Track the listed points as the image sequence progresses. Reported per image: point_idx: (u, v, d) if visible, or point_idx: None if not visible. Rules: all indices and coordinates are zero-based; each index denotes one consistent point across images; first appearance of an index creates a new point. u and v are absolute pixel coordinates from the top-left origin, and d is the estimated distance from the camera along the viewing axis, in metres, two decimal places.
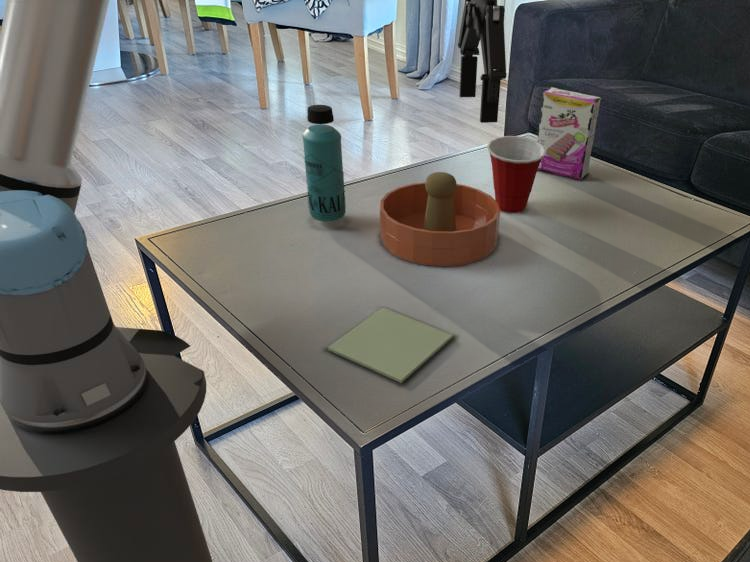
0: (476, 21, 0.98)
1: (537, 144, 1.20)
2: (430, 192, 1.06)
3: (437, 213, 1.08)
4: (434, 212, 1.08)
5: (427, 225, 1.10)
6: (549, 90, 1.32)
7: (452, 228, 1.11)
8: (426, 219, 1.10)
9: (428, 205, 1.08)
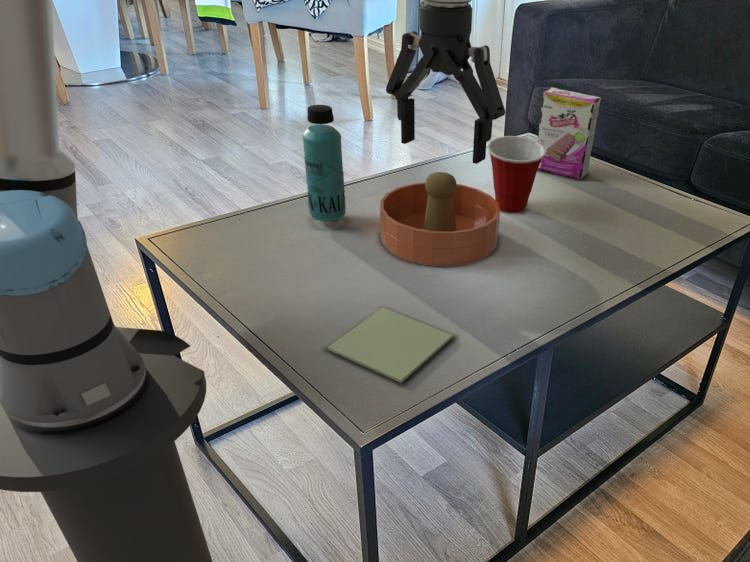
0: (452, 65, 0.94)
1: (537, 144, 1.20)
2: (430, 192, 1.06)
3: (437, 213, 1.08)
4: (434, 212, 1.08)
5: (427, 225, 1.10)
6: (549, 90, 1.32)
7: (452, 228, 1.11)
8: (426, 219, 1.10)
9: (428, 205, 1.08)
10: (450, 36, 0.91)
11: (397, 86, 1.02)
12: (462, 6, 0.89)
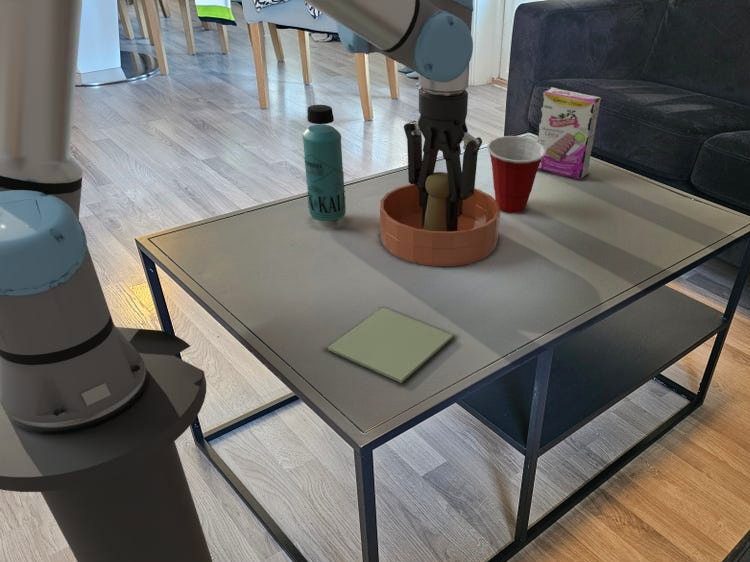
0: (445, 146, 1.01)
1: (537, 144, 1.20)
2: (430, 192, 1.06)
3: (437, 213, 1.08)
4: (434, 212, 1.08)
5: (427, 225, 1.10)
6: (549, 90, 1.32)
7: None
8: (426, 219, 1.10)
9: (428, 205, 1.08)
10: (447, 120, 0.98)
11: None
12: (458, 93, 0.97)
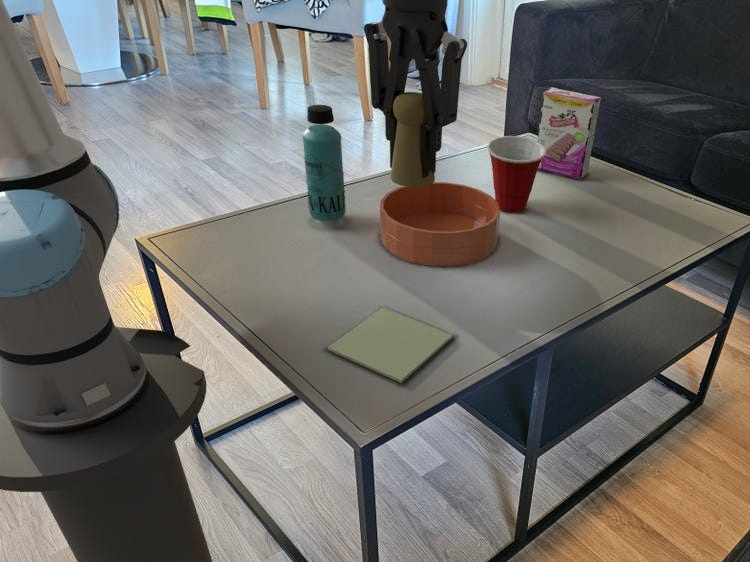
0: (418, 51, 0.76)
1: (537, 144, 1.20)
2: (399, 117, 0.81)
3: (409, 146, 0.83)
4: (405, 144, 0.83)
5: (396, 163, 0.85)
6: (549, 90, 1.32)
7: None
8: (395, 155, 0.85)
9: (397, 136, 0.83)
10: (420, 11, 0.73)
11: None
12: None
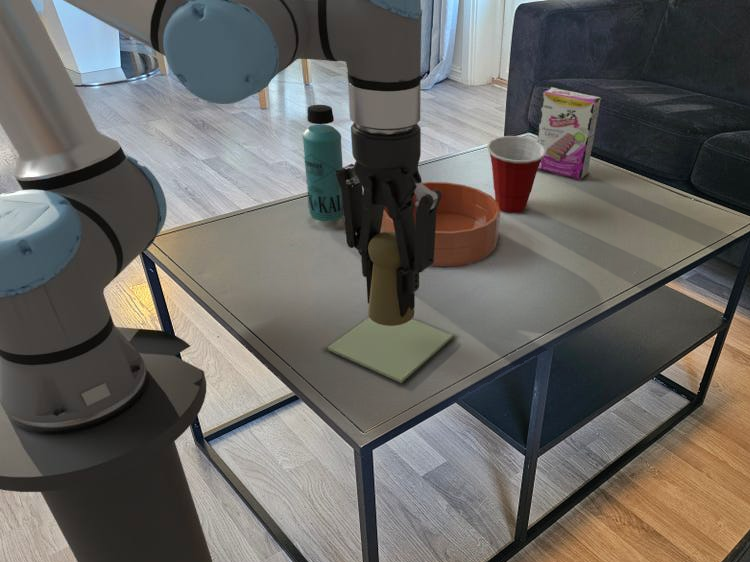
0: (391, 202, 0.73)
1: (537, 144, 1.20)
2: (374, 260, 0.78)
3: (385, 288, 0.80)
4: (381, 286, 0.80)
5: (373, 302, 0.82)
6: (549, 90, 1.32)
7: None
8: (371, 294, 0.82)
9: (373, 276, 0.80)
10: (391, 168, 0.69)
11: None
12: (406, 131, 0.68)
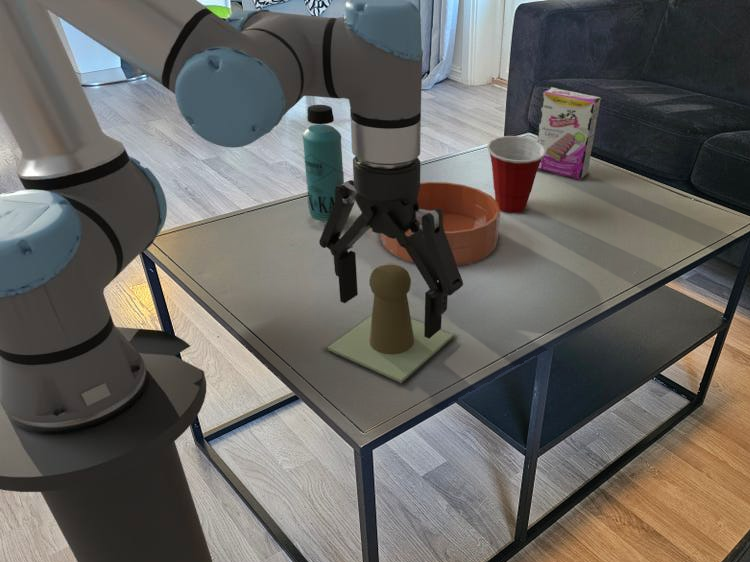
0: (396, 230, 0.74)
1: (537, 144, 1.20)
2: (375, 293, 0.81)
3: (386, 318, 0.82)
4: (382, 316, 0.82)
5: (374, 331, 0.84)
6: (549, 90, 1.32)
7: (407, 334, 0.85)
8: (373, 323, 0.84)
9: (374, 307, 0.83)
10: (391, 200, 0.72)
11: (334, 237, 0.83)
12: (406, 165, 0.70)
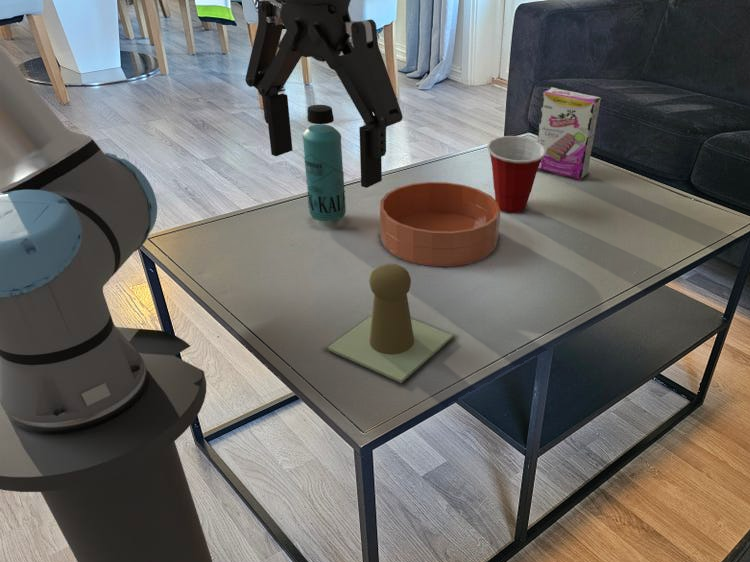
0: (324, 47, 0.65)
1: (537, 144, 1.20)
2: (375, 293, 0.81)
3: (386, 318, 0.82)
4: (382, 316, 0.82)
5: (374, 331, 0.84)
6: (549, 90, 1.32)
7: (407, 334, 0.85)
8: (373, 323, 0.84)
9: (374, 307, 0.83)
10: (315, 3, 0.62)
11: (262, 76, 0.74)
12: None
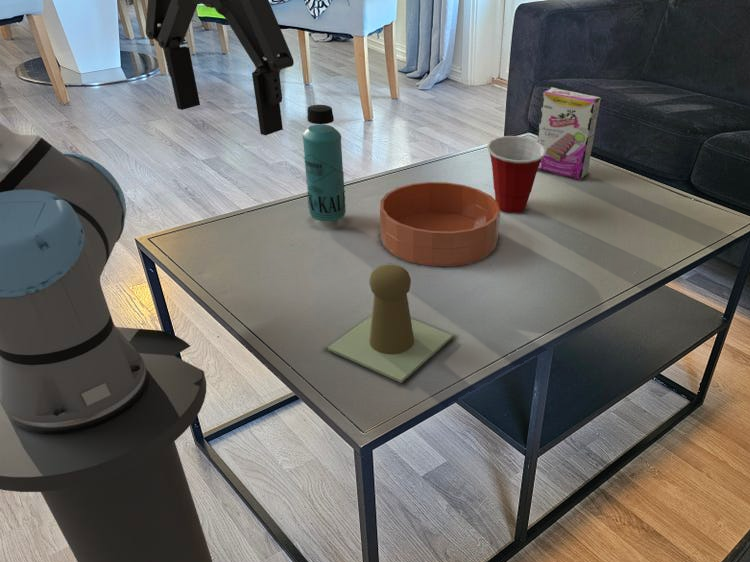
0: None
1: (537, 144, 1.20)
2: (375, 293, 0.81)
3: (386, 318, 0.82)
4: (382, 316, 0.82)
5: (374, 331, 0.84)
6: (549, 90, 1.32)
7: (407, 334, 0.85)
8: (373, 323, 0.84)
9: (374, 307, 0.83)
10: None
11: None
12: None
